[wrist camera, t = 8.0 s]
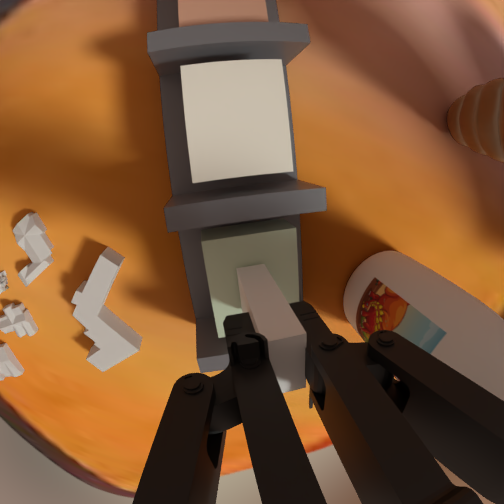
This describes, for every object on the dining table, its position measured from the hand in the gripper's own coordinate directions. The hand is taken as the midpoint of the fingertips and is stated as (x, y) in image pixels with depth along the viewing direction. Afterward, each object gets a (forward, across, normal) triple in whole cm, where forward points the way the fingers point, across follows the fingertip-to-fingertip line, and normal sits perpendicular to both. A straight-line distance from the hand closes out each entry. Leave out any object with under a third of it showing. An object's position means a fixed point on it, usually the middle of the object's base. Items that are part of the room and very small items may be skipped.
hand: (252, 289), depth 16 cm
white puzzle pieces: (+6, +19, -1) cm, 20 cm away
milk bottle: (+5, -12, +5) cm, 14 cm away
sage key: (+3, 0, 0) cm, 3 cm away
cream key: (+3, 0, -9) cm, 9 cm away
